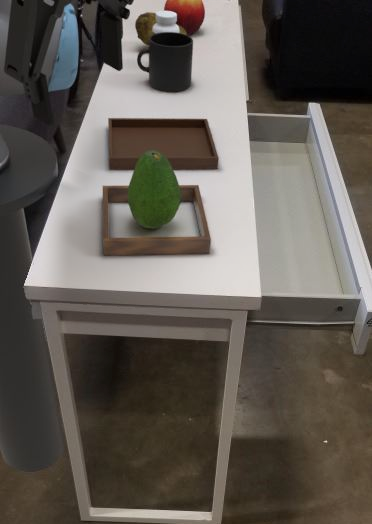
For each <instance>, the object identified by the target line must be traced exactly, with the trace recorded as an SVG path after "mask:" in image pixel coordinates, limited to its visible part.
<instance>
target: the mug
mask: <svg viewBox="0 0 372 524" xmlns="http://www.w3.org/2000/svg"><path fill="white" fill-rule="evenodd" d="M145 54H148V66H145V65H143V63H142V57H143V56H144V55H145ZM193 54H194V39H193V38H192V37H191V36H189V35H185V34H181V33H176V32H161V33H156V34H153V35H151V36H150V37H149V45H148V48H144V49H141V51H139V52H138V54H137V58H136V63H137V66H138V68H139V69H140V70H141V71H143V72H145V73H147V74H148V83H149V85H150V86H151V87H152V88H154V89H156V90H158V91H162V92H169V93H171V92H172V93H173V92H174V93H175V92H182V91H185V90H188V89H189V88H190V87H191V85H192V71H193Z"/></svg>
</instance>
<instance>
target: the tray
mask: <svg viewBox="0 0 372 524" xmlns="http://www.w3.org/2000/svg"><path fill="white" fill-rule="evenodd" d="M107 120H108V121H107V123H108V124H107V125H108V156H109V157H108V160H109V170H134V169H135V166H136V164H137V161H138V160H139V158H140V157H141V156H142V155H143V154H144V153H145V152H147V151H150V150H155V151H158V152H161V153H162V154H163V155H164V156H165V157H166V158H167V160H168V161H169V163H170V165H171V167H172V169H173V170H218V167H219V159H220V158H219V155H218V151H217V148H216V145H215V141H214V138H213V135H212V131H211V127H210V124H209V121H208V118H165V117H163V118H162V117H161V118H153V117H150V118H148V117H147V118H143V117H141V118H139V117H136V118H135V117H133V118H132V117H108V118H107Z"/></svg>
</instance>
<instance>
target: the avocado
mask: <svg viewBox="0 0 372 524" xmlns="http://www.w3.org/2000/svg"><path fill="white" fill-rule="evenodd" d="M179 185H180V184H179V181H178V178H177V176H176V173H175V171H174V169H172V167H171V165H170V163H169V161H168V160H167V158H166V157H165V156H164V155H163V154H162V153H161V152H158V151H155V150H150V151H147V152H145V153H144V154H143V155H142V156H141V157H140V158H139V160H138V161H137V164H136V166H135V169H133V172H132V174H131V177H130V181H129V185H128V186H129V187H128V202H127V203H128V206H129V210H130V213H131V215H132V217H133V219H134V220H135V222H137V224H138V225H139V226H142V227H143V228H145V229H152V230H155V229H159V228H163V227H164V226H166V225H167V224H168V223H170V222H172V221H173V219H174V218H175V216H176V215H177V213H178V210H179V208H180V205H181V201H180V198H181V190H180V187H179Z"/></svg>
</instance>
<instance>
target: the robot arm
mask: <svg viewBox="0 0 372 524" xmlns="http://www.w3.org/2000/svg"><path fill="white" fill-rule="evenodd" d="M96 1H97V2H98V4H100V5H101V7H103V8H104V10H106V11H107V12H106V11H104V10H103V11H102V12H100V13H99V23H100V34H101V35H100V36H101V44H102V45H101V46H102V59H103V60H102V61H103V64H105V65H107V66H109V67H110V68H111V69H114V70H116V71H117V72H121V71H122V70H123V68H124V67H123V65H124V64H123V44H122V43H123V42H122V39H123V37H124V25H123V23H124V22H123V21H124V20H125V21H126V20H129V18H130V15H131V10H130V9H129V8H128V7H127V6H132V5H133V3H134V1H135V0H96ZM72 2H73V0H0V97H6V96H15V95H24V96H25V98H26V100H28V101H30V104H31V109H32V114H33V117H34V118H35V119H37V120H39V121H40V122H42V123H44V124H45V125H47V126H49V127H52V126H53V124H55V120H54V114H53V109H52V102H51V97H50V92H55V91H61V90H67V89H69V88H71V87H72V86H73V85H74V83H75V81H76V79H77V75H78V68H79V67H78V65H79V55H80V54H79V52H80V51H79V50H80V49H79V45H80V44H79V29H78V28H79V27H78V21H77V16H76V11H75V7H74V6H73V4H72ZM9 163H10V156H9V150H8V147H7V145H6V142H5V141H4V139H3V137H2V135H1V133H0V174H1V173H2V172H3V171H4V170H5V169H6V168H7V167H8V165H9Z"/></svg>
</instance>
